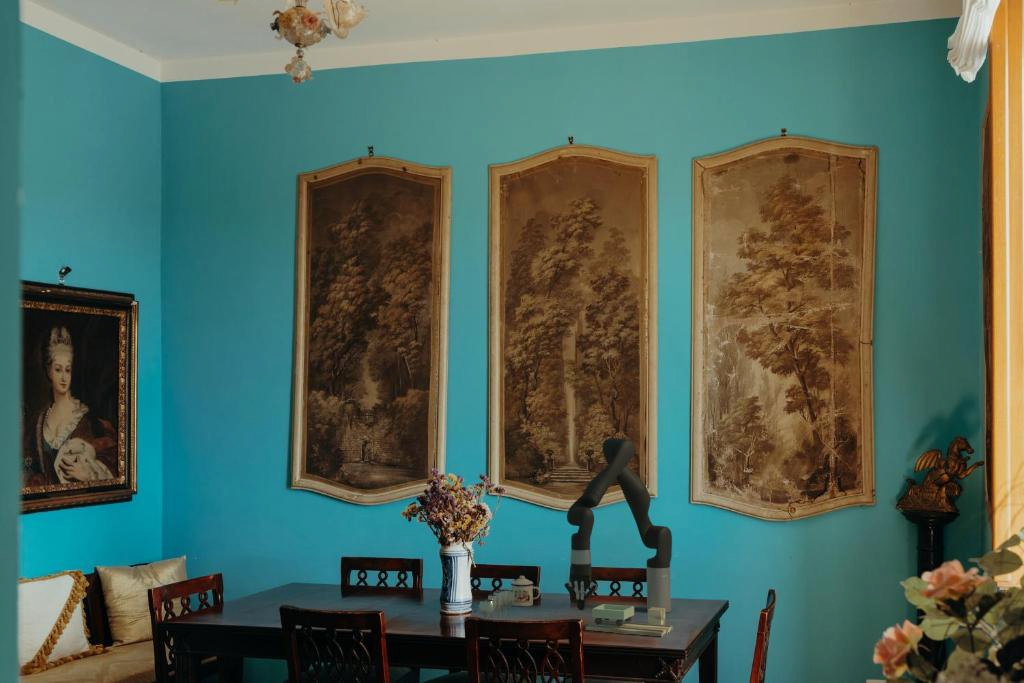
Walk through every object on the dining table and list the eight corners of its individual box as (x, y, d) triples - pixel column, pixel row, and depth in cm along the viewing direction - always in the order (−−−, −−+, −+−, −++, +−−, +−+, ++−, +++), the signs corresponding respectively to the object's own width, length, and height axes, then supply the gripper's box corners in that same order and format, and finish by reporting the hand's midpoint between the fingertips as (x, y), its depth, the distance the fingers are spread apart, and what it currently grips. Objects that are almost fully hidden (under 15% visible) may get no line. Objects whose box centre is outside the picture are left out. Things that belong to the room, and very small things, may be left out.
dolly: (603, 619, 391) (603, 603, 392) (634, 621, 386) (634, 606, 387) (592, 624, 382) (592, 608, 382) (624, 626, 376) (623, 611, 377)
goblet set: (503, 622, 399) (503, 586, 400) (517, 622, 397) (517, 586, 398) (476, 636, 372) (476, 598, 373) (492, 637, 371) (492, 598, 372)
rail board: (599, 624, 393) (599, 618, 394) (672, 630, 381) (672, 624, 382) (585, 630, 381) (585, 625, 381) (661, 637, 369) (660, 631, 369)
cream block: (652, 623, 394) (651, 607, 394) (665, 624, 391) (664, 608, 392) (647, 626, 389) (647, 609, 390) (661, 627, 387) (660, 610, 387)
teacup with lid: (510, 606, 431) (510, 577, 432) (511, 602, 440) (511, 574, 441) (539, 607, 430) (539, 577, 431) (540, 603, 439) (540, 574, 440)
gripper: (601, 561, 391) (602, 609, 390) (568, 559, 397) (568, 606, 396) (594, 564, 385) (594, 612, 383) (560, 562, 390) (560, 610, 389)
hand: (581, 609), depth 390 cm, fingers closed
